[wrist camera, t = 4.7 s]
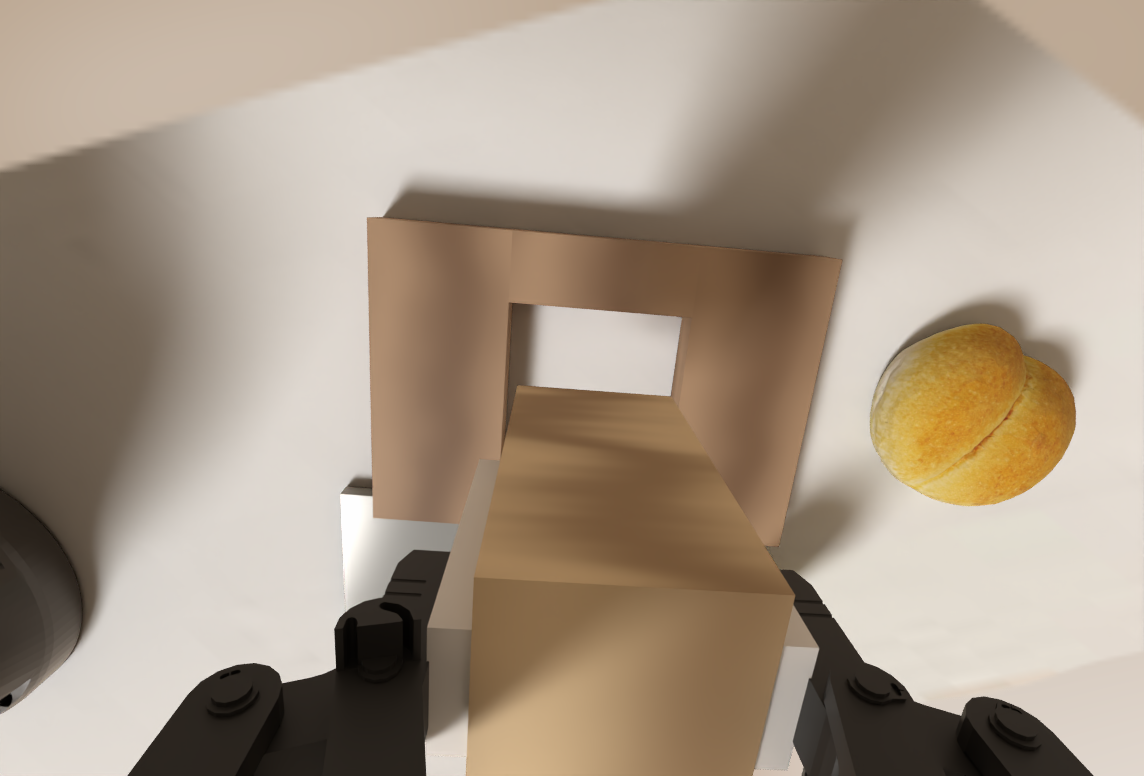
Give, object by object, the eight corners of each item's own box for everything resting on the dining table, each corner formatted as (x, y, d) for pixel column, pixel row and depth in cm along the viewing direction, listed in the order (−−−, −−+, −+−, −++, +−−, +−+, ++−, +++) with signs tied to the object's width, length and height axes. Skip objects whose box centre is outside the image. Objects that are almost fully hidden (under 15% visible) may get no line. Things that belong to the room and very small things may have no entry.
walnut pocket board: (385, 498, 29) (373, 518, 27) (382, 217, 25) (366, 217, 23) (765, 525, 30) (778, 546, 28) (822, 256, 26) (842, 259, 24)
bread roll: (943, 290, 27) (1006, 303, 23) (1068, 394, 28) (1146, 423, 24) (823, 424, 29) (863, 457, 25) (947, 515, 30) (1002, 558, 26)
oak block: (509, 522, 20) (463, 818, 10) (517, 385, 18) (473, 577, 9) (651, 531, 20) (739, 827, 10) (671, 396, 18) (795, 596, 9)
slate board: (352, 645, 32) (346, 656, 31) (346, 486, 29) (340, 494, 28) (528, 656, 32) (527, 667, 32) (540, 500, 29) (539, 508, 29)
